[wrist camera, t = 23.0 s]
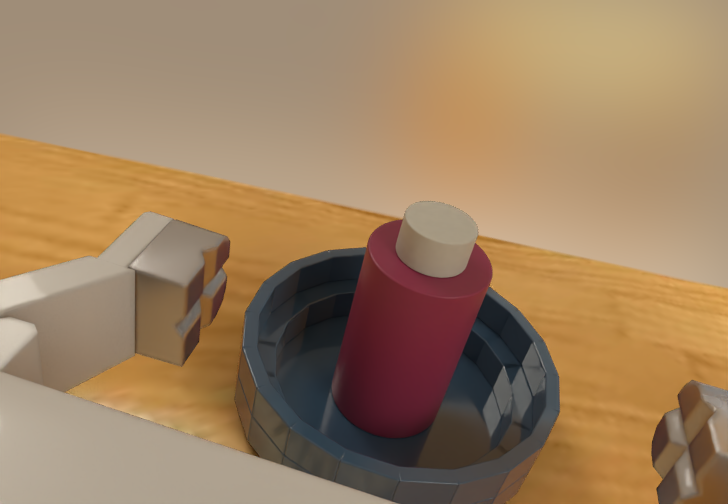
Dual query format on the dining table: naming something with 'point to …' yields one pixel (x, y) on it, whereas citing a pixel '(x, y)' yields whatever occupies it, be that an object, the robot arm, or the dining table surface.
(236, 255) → the dining table surface
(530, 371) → the bowl
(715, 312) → the dining table surface
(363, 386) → the yogurt bottle
